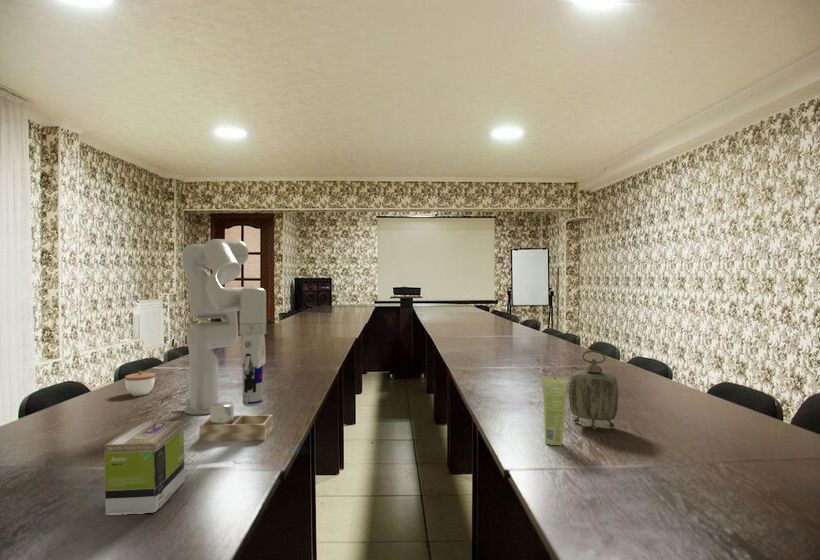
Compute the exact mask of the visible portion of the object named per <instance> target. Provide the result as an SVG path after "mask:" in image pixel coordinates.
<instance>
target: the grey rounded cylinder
mask: <svg viewBox="0 0 820 560" xmlns="http://www.w3.org/2000/svg"><path fill="white" fill-rule="evenodd" d="M234 415H235V403H234V402H225V401H224V402H218V403H216V404H213V405H211V413H210V417H211V425H218V424H233V423H234Z"/></svg>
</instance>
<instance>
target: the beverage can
mask: <svg viewBox="0 0 820 560" xmlns="http://www.w3.org/2000/svg"><path fill="white" fill-rule="evenodd" d="M262 358H263V357H262ZM244 366H245V363H244ZM263 366H264V365H263V364H262V366H261V367H260V368H258V369H257V368H256V367H255V379H256V392H254V393H253V389H252V390H248V393H245V392H244V375H245V373H244V368H242V405H243V406H245V407H257V406H258V407H259V406H260V405H262V404H263V402H264V398H263V396H264V395H263V393H264V391H263V388H264V386H263V383H264V381H263V380H264V379H263V377H264V376H263V372H264V371H263ZM250 368H253V365H250ZM250 371H252V372H253V370H250Z"/></svg>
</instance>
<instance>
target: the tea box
mask: <svg viewBox="0 0 820 560" xmlns="http://www.w3.org/2000/svg"><path fill="white" fill-rule="evenodd" d="M184 435H185V434H184V420H165V421H164V420H162V421H161V420H160V421H140V422H138V423H137V424H135V425H133V426H132V427H131V428H129V429H127V430H126V431H124V432H122V434H121V433H120V435H118V436H116V437H115V438H114V439H112V440H110V441H109V442H107V443H106V444H104V451H103V452H104V458H103V459H104V493H105V494H104V495H105V498H104V501H105V504H104V505H105V506H104V507H105V515H106V514H110V513H123V512H125V513H126V512H156V511H157V510H158V509H159V508H161V507H162V506H163V505H164V504H165V503H166V502H167V501H168V500H170V498H171V496H173V495H174V493H176V491H178V489H180V487H181V486H182V484H183V483H184V482H185V477H186V476H185V473H186V472H185V439H184V437H185V436H184ZM159 510H160V509H159ZM159 510H158V511H159ZM158 511H157V512H158ZM157 512H156V513H157Z"/></svg>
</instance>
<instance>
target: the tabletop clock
mask: <svg viewBox="0 0 820 560" xmlns="http://www.w3.org/2000/svg"><path fill="white" fill-rule="evenodd" d="M589 353H597V354H600V355H602V356H603V360H600V361H596V359H595V358H592V360H588V359H586V358H585V355H586V354H589ZM581 358H582V360H583V361H584V362H585V363H588V365H586V367H585V369H579V370H576V371H574V372H573V374H572V377H571V379H570V382H569V392H568V397H569V398H568V399H569V400H568V401H569V409H570V411H571V414H572V415H573V416H576V418H574V419H573V422H574V423H575V422H579V423H580V418H581V419H587V420H591V425H590V429H591V430H592V429H595V430H597V426H596V425H595V421H607V422H608V427H609V428H611V427H613V428H614V427H615V423H614V422H612V421H611V420H615V418H616V416H617V413H618V412H617V411H618V406H619V386H618V380H617V377H616V375H615V374H614V373H611V372H608V371H603V369H602V367H601V366H600V365H599V364H602V363H604V362H605V361H606V355H605V354H604V353H603V352H601V351H599V350H595V349H592V350H591V349H590V350H589V349H588V350H586V351H584V352H583V353H582V356H581Z"/></svg>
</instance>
